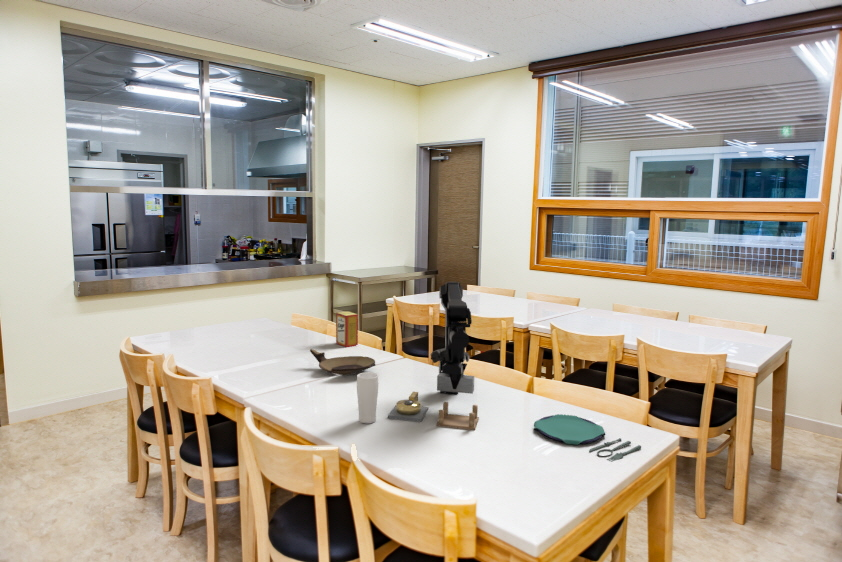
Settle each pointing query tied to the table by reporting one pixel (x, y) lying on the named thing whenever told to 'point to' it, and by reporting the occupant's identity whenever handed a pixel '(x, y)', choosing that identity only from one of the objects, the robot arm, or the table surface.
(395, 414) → the nut base
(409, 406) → the gold low rounded piece
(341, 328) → the baking soda box
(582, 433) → the cutlery set
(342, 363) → the frying pan
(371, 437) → the table surface
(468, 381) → the bar
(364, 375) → the drinking glass
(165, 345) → the table surface
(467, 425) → the peg rack
